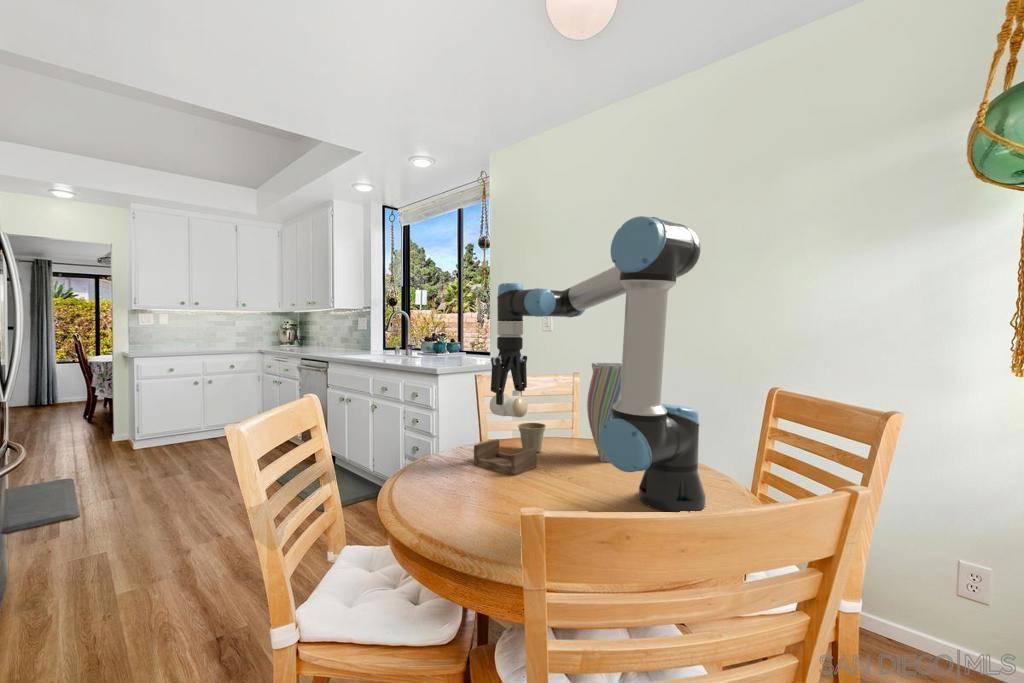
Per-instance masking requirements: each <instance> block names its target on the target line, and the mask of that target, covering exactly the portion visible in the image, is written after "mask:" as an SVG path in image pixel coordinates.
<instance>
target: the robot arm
mask: <svg viewBox="0 0 1024 683" xmlns="http://www.w3.org/2000/svg"><path fill="white" fill-rule="evenodd" d="M609 252H610V257H611V261H612V263H614V266H613V267H611V268H609V269H607V270H606V269H605V270H604V271H603V272H601V273H598V274H596V275H593V276H592V277H589V278H588V279H585V280H583V281H581V282H579V283H576V284H575V285H573V286H571V287H569V288H567V289H565V290H553V289H548V288H539V287H536V288H532V289H531V288H529V289H524V285H523V284H522V283H515V282H511V283H510V282H509V283H508V282H506V283H505V282H504V283H500V284H499V285H498V287H497V295H496V296H497V297H496V299H497V306H496V307H497V333H496V334H497V335H498V336H497V338H496V339H497V340H496V347H497V350H498V355H497V356H496V357H491V358H490V362H491V379H490V392H492V393H494V394H495V395H496V404H497V416H499V417H500V416H501V417H507V416H506V396H507V395H506V394H507V393H504V392H505V388H506V384H507V380H508V375H509V372H511V373H510V374H511V378H512V384H513V388H514V389H513V390H512V396H520V397H523V395H522V394H523V392H524V391H525V390H526V389H527V387H528V380H527V376H528V375H527V374H528V373H527V361H528V356H527V355H522V354H521V351H522V349H523V346H524V345H523V344H524V343H523V342H524V341H523V337H522V336H523V334H524V320H523V317H537V318H540V317H541V318H542V317H561V318H574V317H575V318H576V317H579V316H581V315H583V313H584V312H585V311H586V310H587V309H590V308H592V307H595V306H598V305H599V304H602V303H605V302H607V301H609V300H612V299H615V298H618V297H620V296H622V295H624V294H625V304H624V305H625V306H624V307H625V308H624V324H623V338H622V339H623V342H622V356H621V357H622V358H621V359H622V360H621V363H622V373H621V390H620V399H619V400H618V401H617V402H616V403H614V404H613V406H612V420H609V421H608V422H606V424H605V425H604V426H603V427H602V429H601V432H600V444H601V448H602V450H603V453H604V455H605V456H606V457H607V458H608V460H609V462H608V463H610V464H611V465H612V466H613V467H614V468H616V469H618V470H619V471H622V472H625V473H635V472H644V473H643V475H642V478H641V480H640V484H639V486H638V499H639V501H640V502H641V503H643V504H644V505H646V506H648V505H649V506H648V507H650V508H653V509H655V508H656V510H659V511H663V512H669V513H670V512H671V513H678V512H680V511H695V512H698V511H697V510H699V511H701V510H703V509H704V508H705V507H704V505H705V506H706V493H705V490H704V487H703V484H702V481H701V477H700V474H699V441H700V440H699V434H700V432H699V431H700V430H699V429H700V422H699V413H698V411H697V410H696V409H695V408H693V407H688V406H684V405H683V406H682V405H677V404H668V403H662V402H661V401H662V386H663V371H664V370H663V369H664V357H665V356H664V354H665V341H666V324H667V309H668V297H669V296H668V295H669V291H670V289H672V288H673V287H674V286H675V285H676V284H677V278H680V277H681V276H684V275H685V274H687V273H689V272H690V271H691V270H693V269H694V267H695V266H696V265H697V264H698V261H699V258H700V256H701V242H700V240H699V237H698V236H697V234H696V232H695V231H693V230H692V229H691V228H690V227H688V226H686V225H684V224H680V223H675V222H672V221H667V220H664V219H660V218H659V217H655V216H645V215H644V216H641V215H640V216H635V217H632V218H630V219H628V220H626V221H625V222H624V223H623V224H622V225H621V227H620V228H618V229H617V231H616V232H615V233H614V235H613V237H612V241H611V243H610V251H609Z"/></svg>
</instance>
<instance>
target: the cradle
mask: <svg viewBox="0 0 1024 683" xmlns="http://www.w3.org/2000/svg"><path fill="white" fill-rule="evenodd" d="M537 454H538V452H537V448H534V447H533V448H530V449H527V450H524V451H523V450H521V451H518V452H515V453H512V454H509V453H504V452H500V439H498V438H497V439H492V440H489V441H484V442H482V443H478V444H474V445H473V465H474V466H476V467H477V466H478V467H481V468H485V469H489V470H492V471H495V472H499V473H503V474H506V475H510V476H513V477H516V476H518V475H521V474H524V473H526V472H528V471H531V470H534V469H537V465H538V464H537Z"/></svg>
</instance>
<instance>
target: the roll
mask: <svg viewBox="0 0 1024 683" xmlns="http://www.w3.org/2000/svg"><path fill="white" fill-rule="evenodd" d="M528 405H529V404H528V400H527V399H526V398H525V397H523V396H522V397H520V396H513V395H506V416H505V417H512V418H514V417H515V418H523V417H524V416H525V415H526V414H527V412H528V409H529V408H528V407H529V406H528ZM489 409H490V412H491V413H492V414H494V415H497V404H496V394H495V395H494V396H492V397H491V399H490V402H489ZM497 416H498V415H497Z"/></svg>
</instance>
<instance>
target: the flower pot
mask: <svg viewBox="0 0 1024 683" xmlns="http://www.w3.org/2000/svg"><path fill="white" fill-rule="evenodd" d="M517 428H518V429H519V430H518V431H519V432H520V439H521V440H520V441H521V446H522V447H521V449H522V451H524V450H527V449H530V448H533V447H534V448H537V453H541V452H542V448H543V440H544V432H545V431H546V428H547V425H546V424H544V423H541V422H524V423H523V422H522V423H519V424H517Z"/></svg>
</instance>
